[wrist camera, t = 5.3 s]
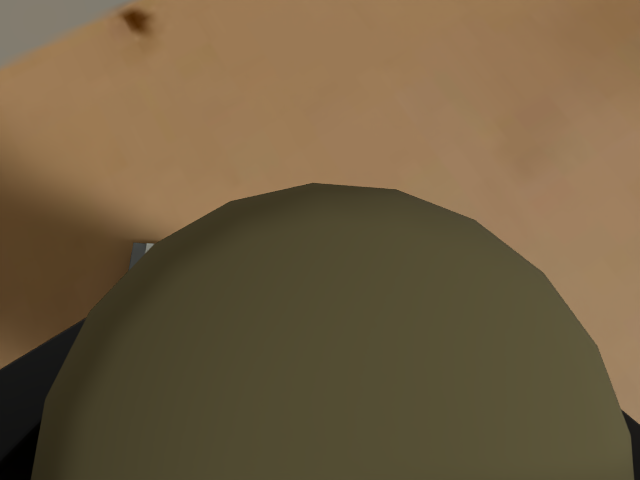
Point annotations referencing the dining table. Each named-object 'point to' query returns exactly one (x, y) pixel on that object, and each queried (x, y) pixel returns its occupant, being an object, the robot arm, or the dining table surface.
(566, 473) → the olive game pawn
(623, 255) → the dining table surface
